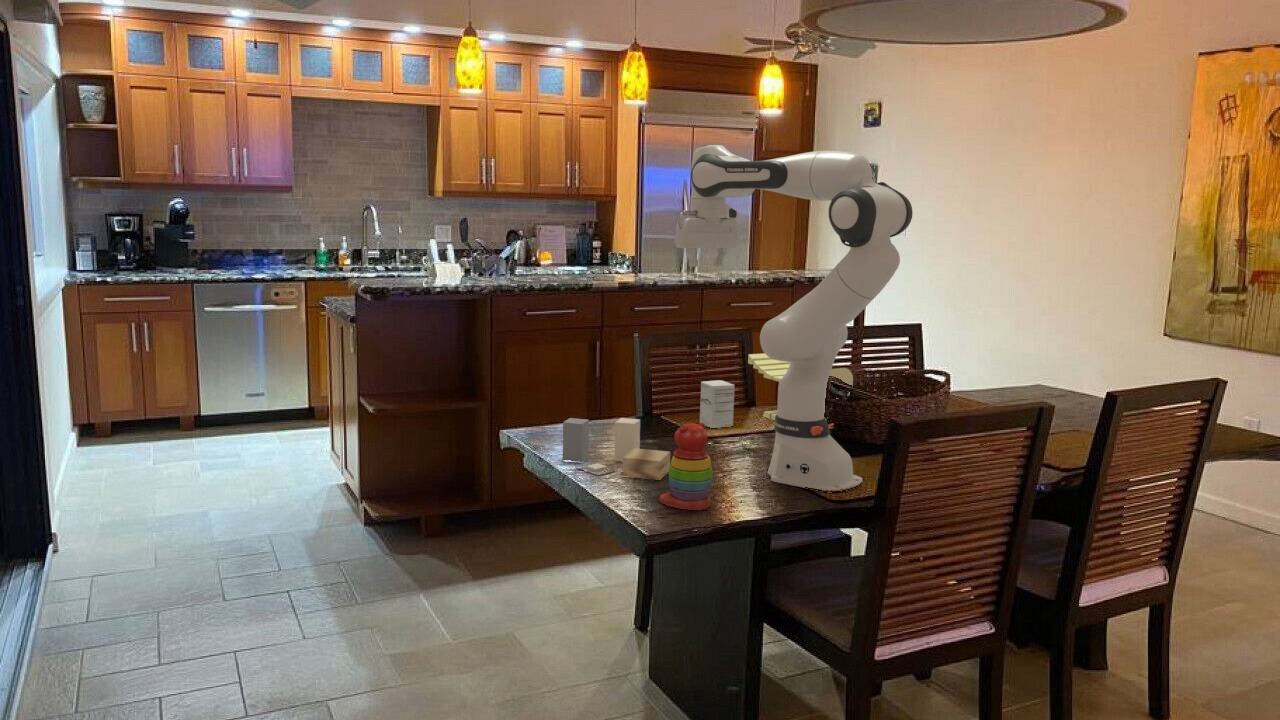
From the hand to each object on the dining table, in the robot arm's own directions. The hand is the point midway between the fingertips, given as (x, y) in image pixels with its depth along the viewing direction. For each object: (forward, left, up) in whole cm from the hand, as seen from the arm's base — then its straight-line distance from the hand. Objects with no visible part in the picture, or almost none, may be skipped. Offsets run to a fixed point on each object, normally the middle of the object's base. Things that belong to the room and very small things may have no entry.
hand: (706, 266), depth 242 cm
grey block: (+13, +32, -48) cm, 59 cm away
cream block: (+5, +22, -48) cm, 53 cm away
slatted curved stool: (+5, -48, -48) cm, 68 cm away
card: (+3, +34, -48) cm, 58 cm away
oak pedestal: (-7, +27, -48) cm, 55 cm away
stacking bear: (-29, +36, -48) cm, 66 cm away
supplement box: (+15, -23, -48) cm, 55 cm away
